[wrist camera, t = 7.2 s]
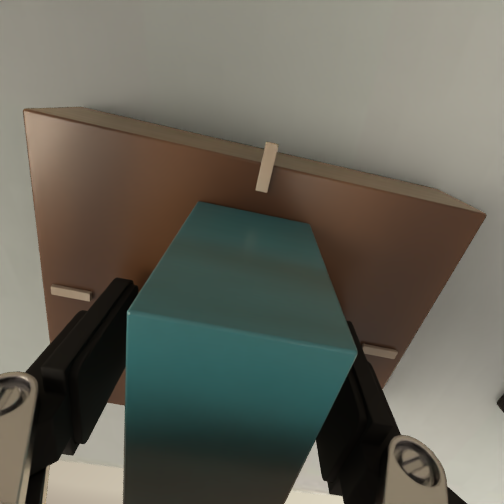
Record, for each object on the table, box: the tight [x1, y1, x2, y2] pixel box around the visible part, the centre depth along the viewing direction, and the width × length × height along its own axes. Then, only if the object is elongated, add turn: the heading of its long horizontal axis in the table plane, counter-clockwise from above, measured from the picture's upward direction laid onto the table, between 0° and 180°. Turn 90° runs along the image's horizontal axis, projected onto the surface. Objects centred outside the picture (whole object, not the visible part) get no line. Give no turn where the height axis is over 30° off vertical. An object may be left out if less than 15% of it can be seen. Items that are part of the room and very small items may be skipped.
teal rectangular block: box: [123, 201, 358, 504], centre depth 9 cm, size 9×4×6 cm, turn 169°
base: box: [23, 107, 486, 405], centre depth 13 cm, size 14×13×3 cm
